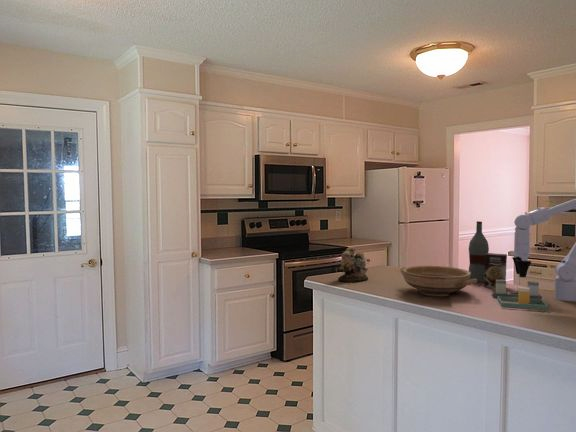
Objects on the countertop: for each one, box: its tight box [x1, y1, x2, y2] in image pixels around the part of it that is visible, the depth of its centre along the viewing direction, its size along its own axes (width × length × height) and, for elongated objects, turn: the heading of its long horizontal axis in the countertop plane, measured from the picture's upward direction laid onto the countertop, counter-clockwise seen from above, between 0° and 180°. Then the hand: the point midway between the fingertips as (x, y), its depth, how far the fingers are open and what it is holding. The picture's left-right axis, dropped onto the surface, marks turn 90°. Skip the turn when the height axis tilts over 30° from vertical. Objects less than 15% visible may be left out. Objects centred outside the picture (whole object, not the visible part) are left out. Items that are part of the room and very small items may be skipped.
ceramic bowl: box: [399, 265, 477, 297], centre depth 203 cm, size 37×29×10 cm
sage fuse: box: [495, 279, 507, 294], centre depth 192 cm, size 4×2×7 cm, turn 73°
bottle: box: [468, 220, 490, 285], centre depth 227 cm, size 9×9×30 cm
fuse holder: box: [491, 290, 543, 300], centre depth 190 cm, size 18×7×3 cm, turn 73°
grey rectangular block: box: [527, 280, 540, 296], centre depth 188 cm, size 4×2×7 cm, turn 73°
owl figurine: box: [337, 246, 369, 284], centre depth 233 cm, size 18×12×17 cm, turn 126°
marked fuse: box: [517, 286, 530, 304], centre depth 179 cm, size 4×2×7 cm, turn 73°
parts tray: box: [496, 296, 549, 313], centre depth 179 cm, size 16×11×2 cm
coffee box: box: [483, 252, 508, 289], centre depth 212 cm, size 9×6×16 cm
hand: (521, 275), depth 195 cm, fingers open, 7 cm apart
